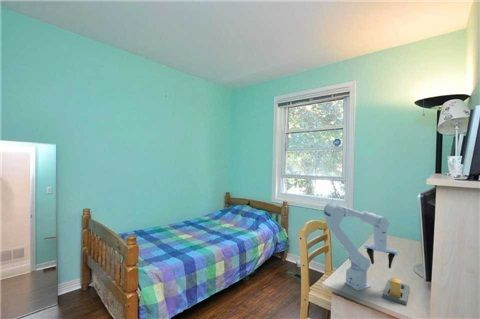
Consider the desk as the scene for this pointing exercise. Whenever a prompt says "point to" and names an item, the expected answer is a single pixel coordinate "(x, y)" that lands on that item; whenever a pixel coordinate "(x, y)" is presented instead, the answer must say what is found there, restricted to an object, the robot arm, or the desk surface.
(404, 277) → the desk surface
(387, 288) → the power strip
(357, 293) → the desk surface
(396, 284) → the plug
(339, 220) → the robot arm
